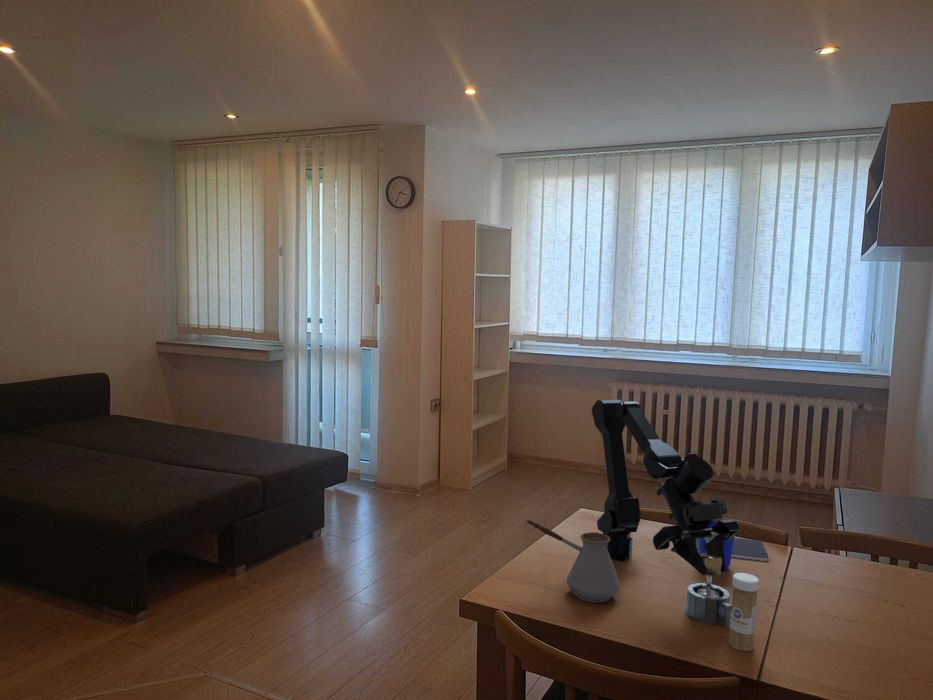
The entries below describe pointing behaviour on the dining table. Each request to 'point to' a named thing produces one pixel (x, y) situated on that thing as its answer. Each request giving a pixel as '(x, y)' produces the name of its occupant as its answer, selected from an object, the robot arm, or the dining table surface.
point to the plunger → (710, 573)
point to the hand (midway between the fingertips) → (714, 573)
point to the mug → (727, 548)
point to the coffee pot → (590, 567)
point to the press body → (708, 605)
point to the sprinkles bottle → (743, 611)
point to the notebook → (745, 549)
